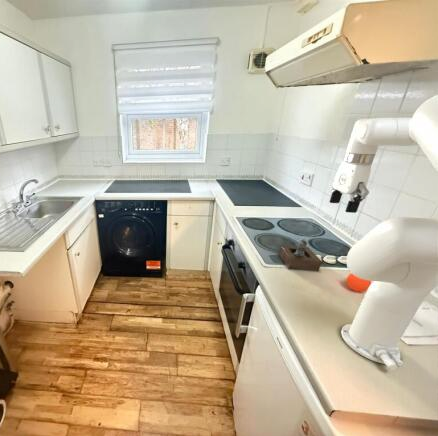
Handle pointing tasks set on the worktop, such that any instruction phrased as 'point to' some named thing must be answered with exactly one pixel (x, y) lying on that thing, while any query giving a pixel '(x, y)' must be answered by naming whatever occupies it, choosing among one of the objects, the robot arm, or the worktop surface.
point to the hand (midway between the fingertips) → (341, 207)
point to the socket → (299, 259)
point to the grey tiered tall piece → (300, 249)
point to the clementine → (357, 283)
